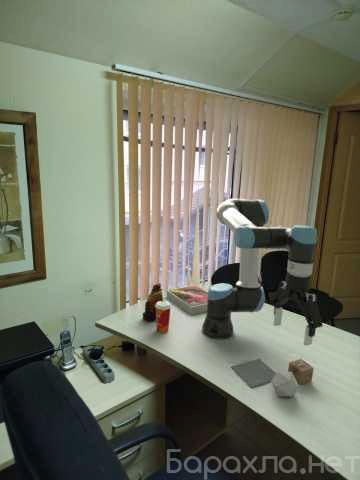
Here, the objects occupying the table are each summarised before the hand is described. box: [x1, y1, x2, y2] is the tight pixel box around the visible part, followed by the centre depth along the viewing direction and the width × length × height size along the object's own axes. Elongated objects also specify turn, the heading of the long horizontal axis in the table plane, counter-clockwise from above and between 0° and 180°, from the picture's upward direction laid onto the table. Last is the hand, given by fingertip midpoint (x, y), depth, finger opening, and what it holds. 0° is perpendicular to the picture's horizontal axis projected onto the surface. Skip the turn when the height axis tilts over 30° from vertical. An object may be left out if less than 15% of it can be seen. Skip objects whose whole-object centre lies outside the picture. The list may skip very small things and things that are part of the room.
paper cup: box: [155, 300, 172, 334], centre depth 143 cm, size 8×8×14 cm
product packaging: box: [166, 284, 208, 316], centre depth 179 cm, size 22×28×5 cm
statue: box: [142, 282, 164, 323], centre depth 154 cm, size 12×8×20 cm, turn 129°
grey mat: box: [230, 358, 277, 389], centre depth 115 cm, size 13×14×1 cm
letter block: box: [287, 358, 314, 387], centre depth 112 cm, size 6×6×6 cm
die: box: [270, 370, 301, 398], centre depth 103 cm, size 8×9×10 cm
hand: (291, 334), depth 100 cm, fingers open, 13 cm apart
